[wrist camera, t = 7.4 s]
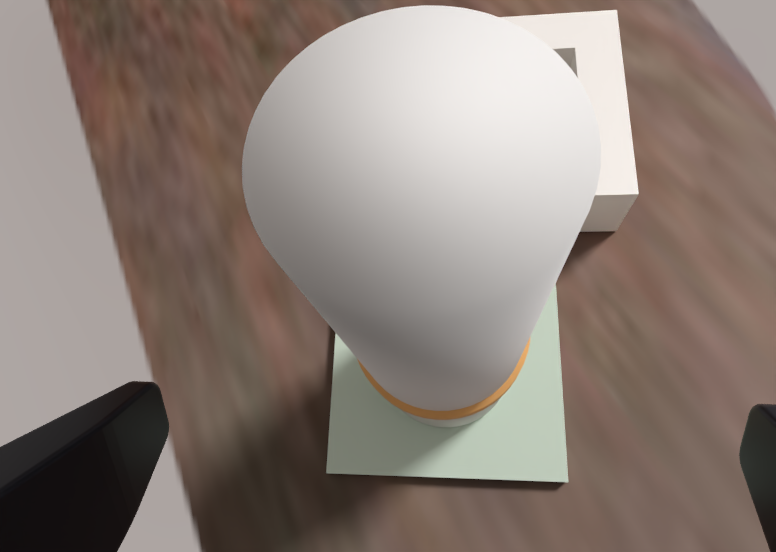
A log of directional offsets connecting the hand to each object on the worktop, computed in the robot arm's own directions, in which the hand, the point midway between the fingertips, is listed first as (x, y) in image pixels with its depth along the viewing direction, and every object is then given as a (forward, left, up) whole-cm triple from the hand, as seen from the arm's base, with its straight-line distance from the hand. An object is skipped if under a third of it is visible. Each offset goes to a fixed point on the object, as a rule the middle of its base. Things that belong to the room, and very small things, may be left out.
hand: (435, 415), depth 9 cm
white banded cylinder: (+3, -1, -11) cm, 12 cm away
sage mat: (+3, -1, -12) cm, 12 cm away
